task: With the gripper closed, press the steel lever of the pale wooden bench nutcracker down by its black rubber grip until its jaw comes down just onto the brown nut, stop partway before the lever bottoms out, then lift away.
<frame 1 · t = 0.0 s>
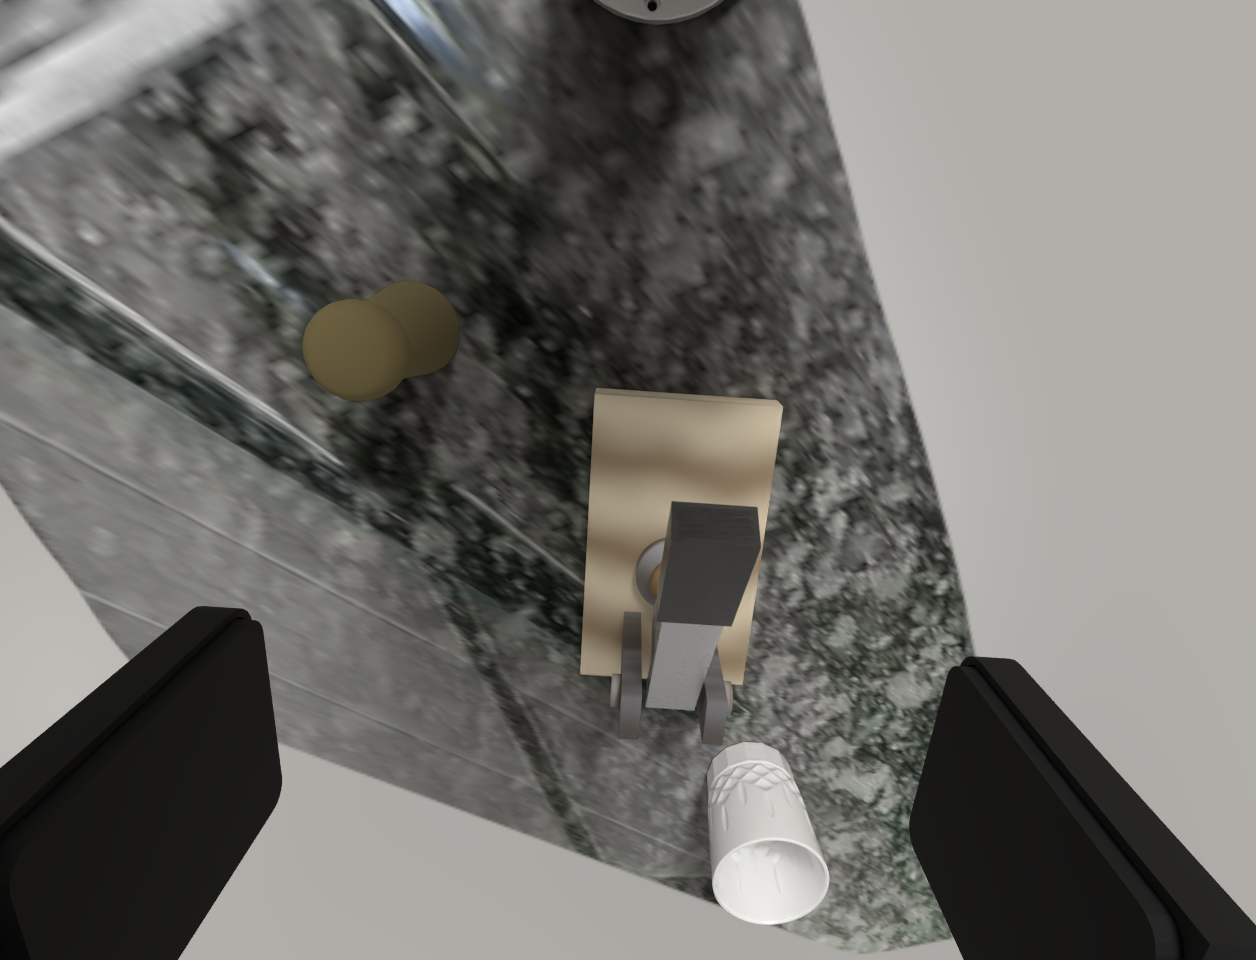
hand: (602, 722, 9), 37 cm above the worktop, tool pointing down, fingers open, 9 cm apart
lever: (687, 611, 36), point 13 cm above the worktop, hinge at 32.0°
nutcracker base: (672, 538, 49), on the worktop
cork: (414, 328, 44), on the worktop
white cup: (747, 772, 56), on the worktop
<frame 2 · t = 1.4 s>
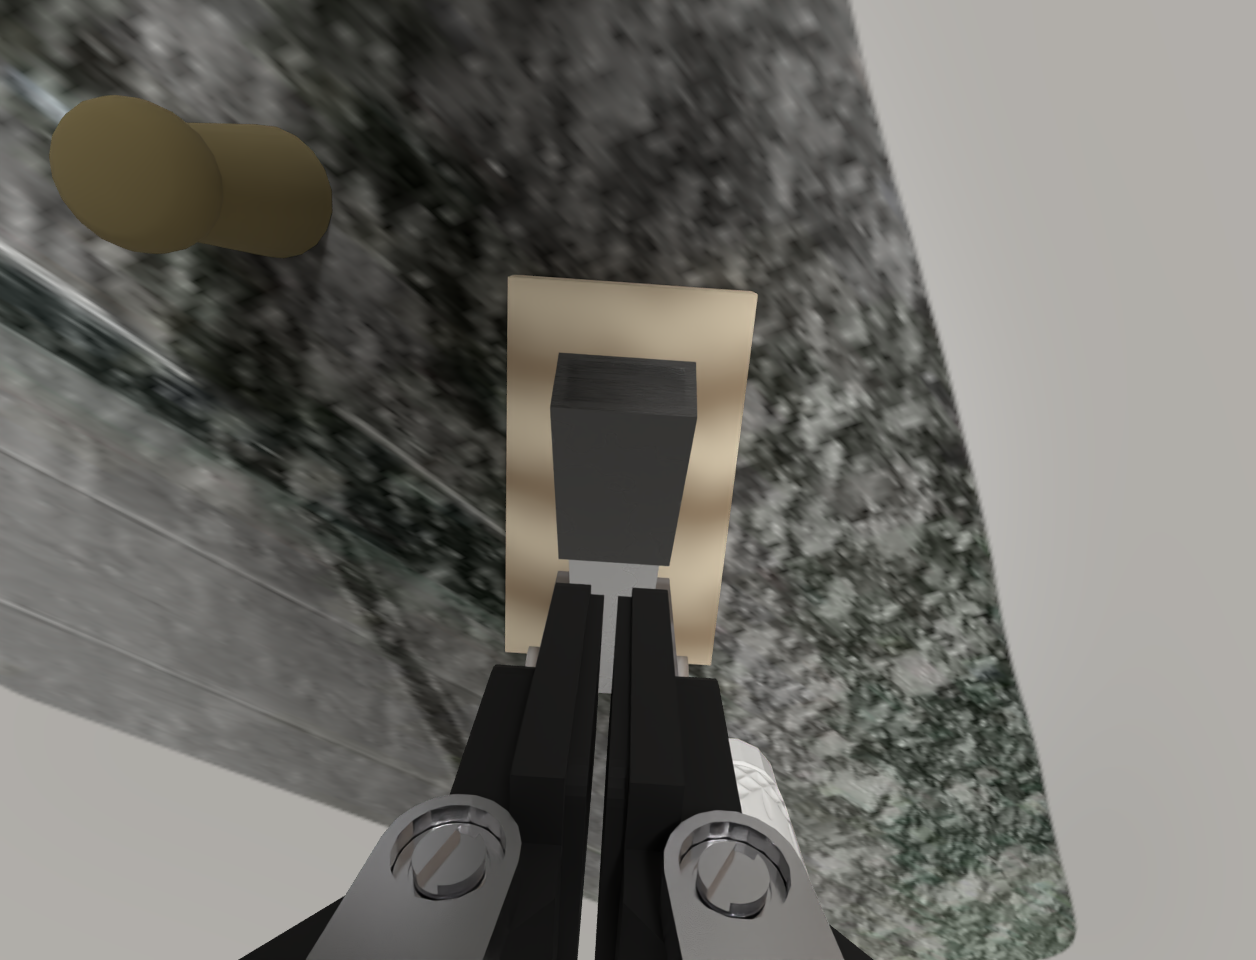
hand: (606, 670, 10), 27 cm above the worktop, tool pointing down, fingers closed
lever: (614, 551, 25), point 13 cm above the worktop, hinge at 32.0°
nutcracker base: (620, 477, 38), on the worktop
cork: (272, 193, 33), on the worktop
white cup: (720, 774, 45), on the worktop
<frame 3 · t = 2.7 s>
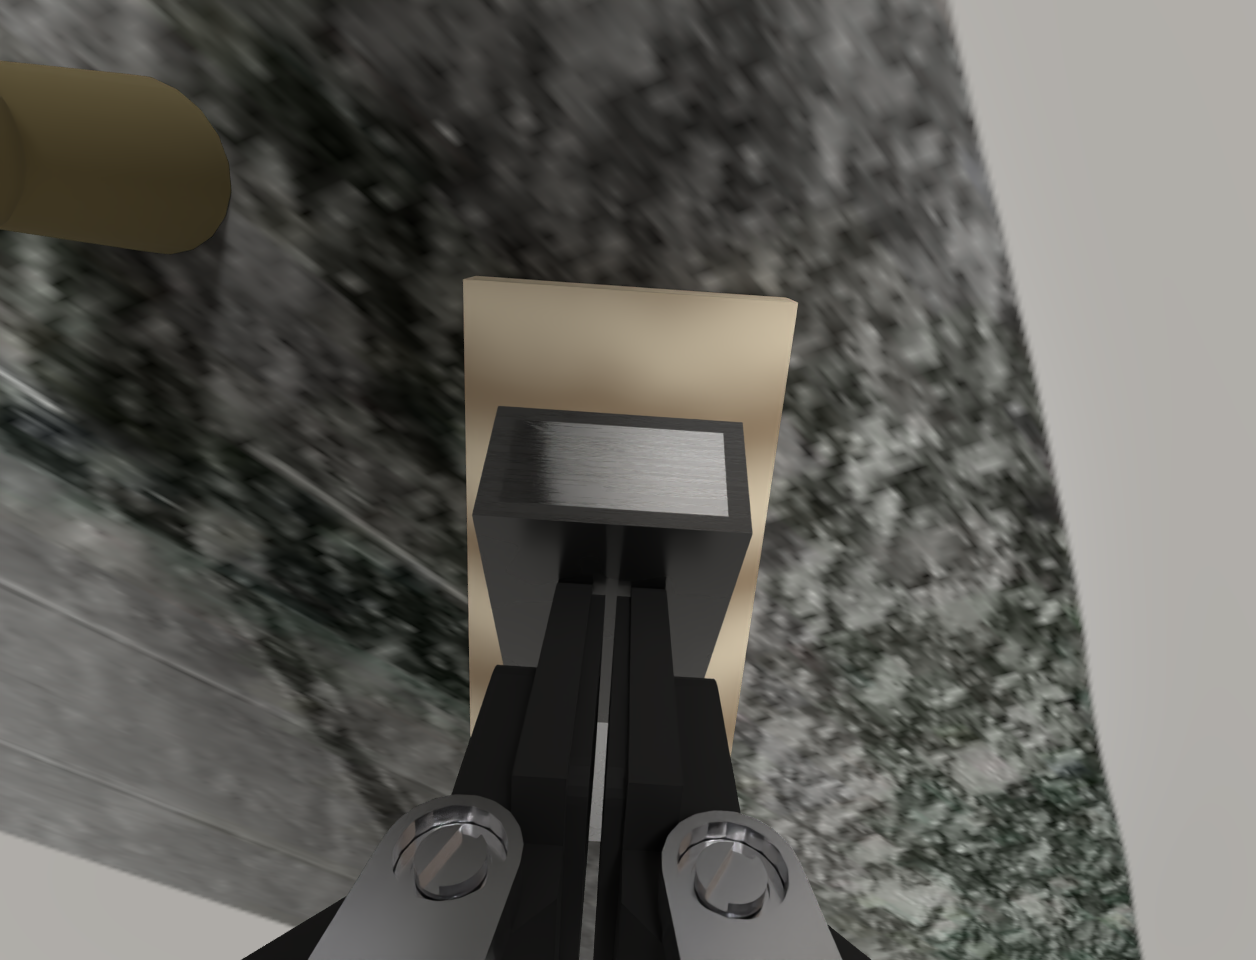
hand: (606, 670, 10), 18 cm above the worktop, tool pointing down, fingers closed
lever: (604, 679, 17), point 13 cm above the worktop, hinge at 30.1°, touching gripper
nutcracker base: (615, 534, 30), on the worktop
cork: (151, 168, 25), on the worktop
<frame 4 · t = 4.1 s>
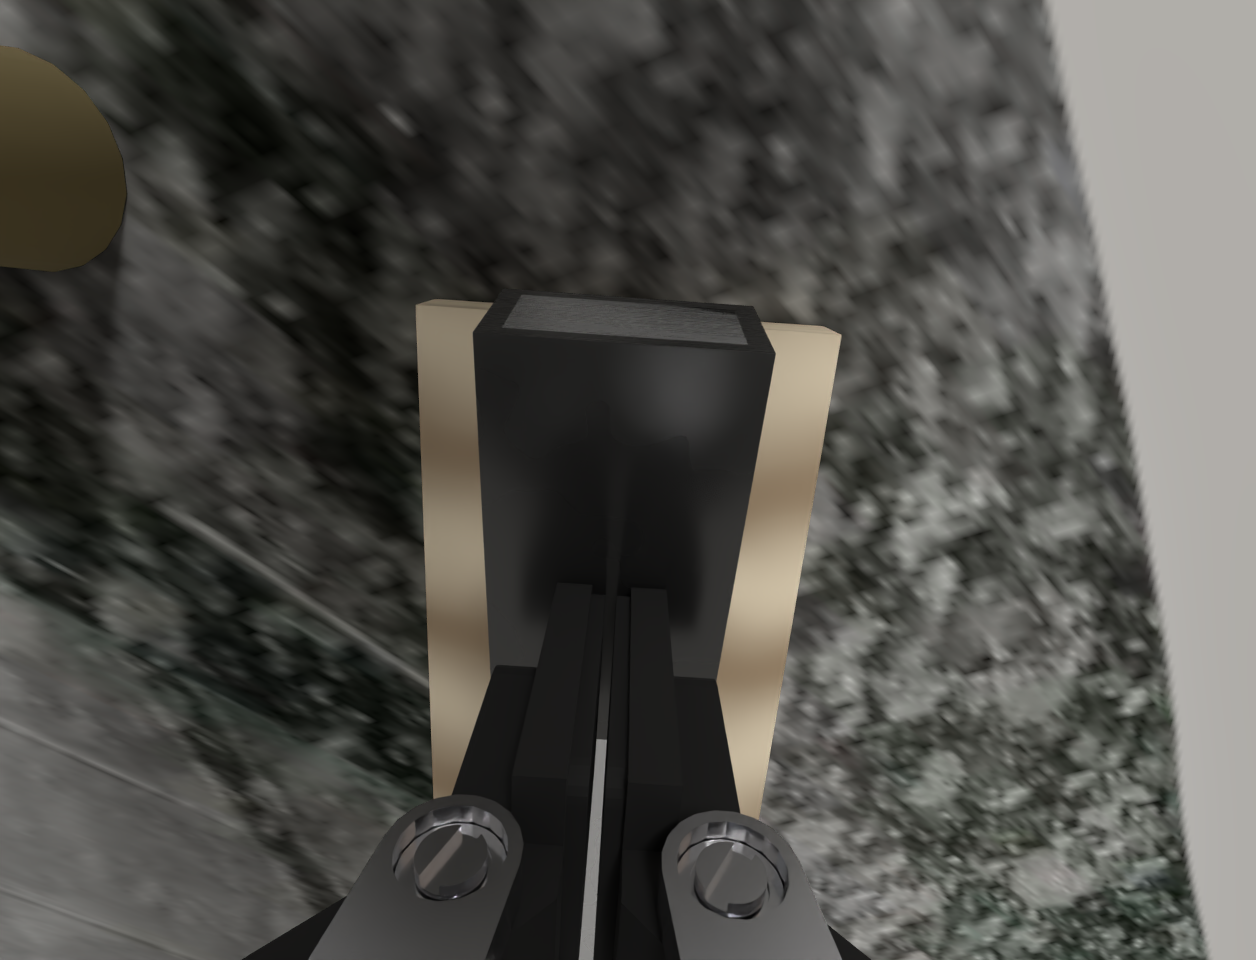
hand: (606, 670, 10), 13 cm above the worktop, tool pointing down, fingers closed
lever: (599, 739, 15), point 10 cm above the worktop, hinge at 10.6°, touching gripper
nutcracker base: (610, 610, 25), on the worktop
cork: (26, 164, 20), on the worktop
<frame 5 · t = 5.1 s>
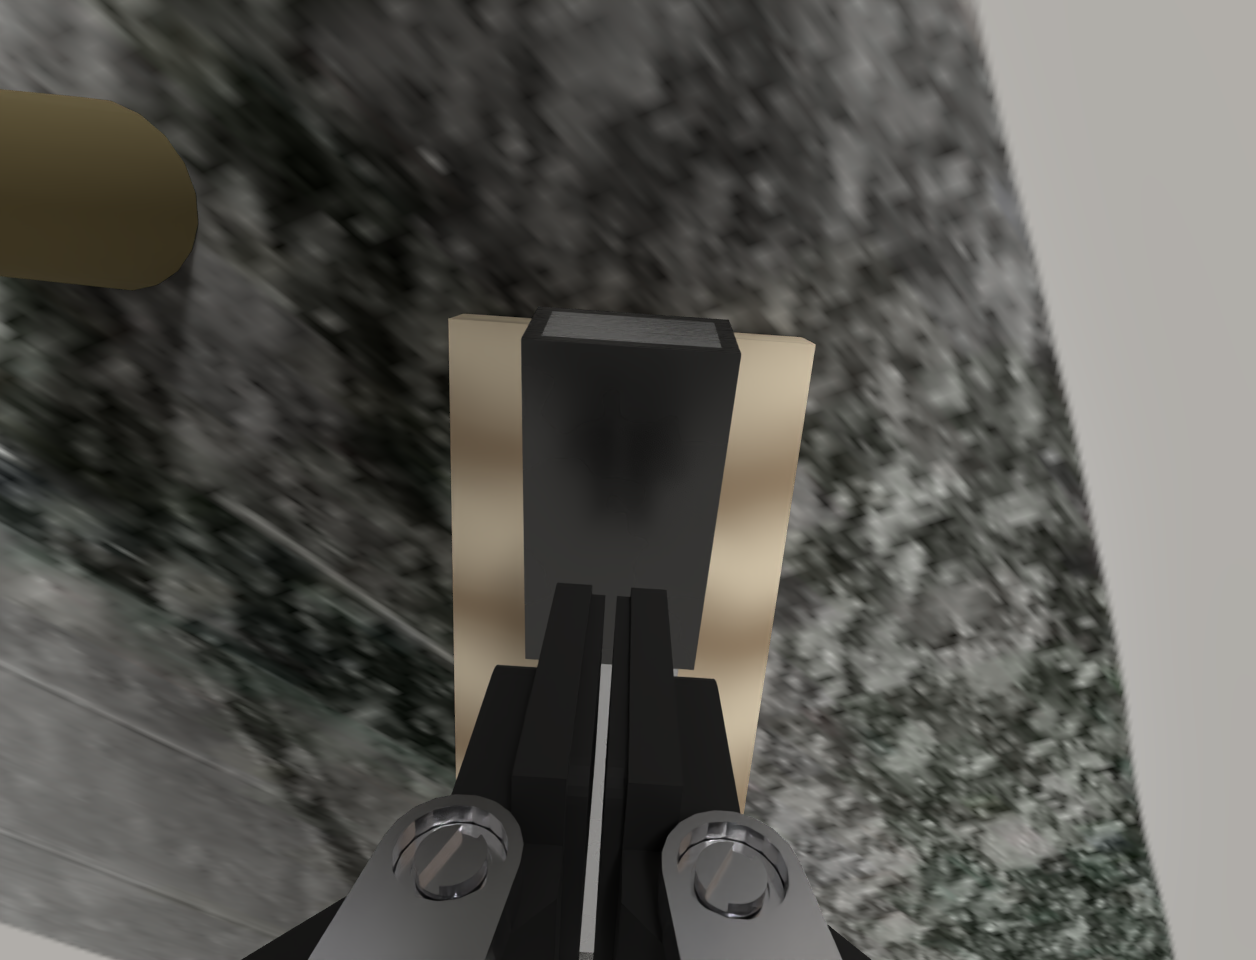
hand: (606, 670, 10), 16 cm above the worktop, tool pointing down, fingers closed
lever: (608, 680, 17), point 10 cm above the worktop, hinge at 10.5°
nutcracker base: (614, 590, 27), on the worktop
cork: (112, 198, 23), on the worktop
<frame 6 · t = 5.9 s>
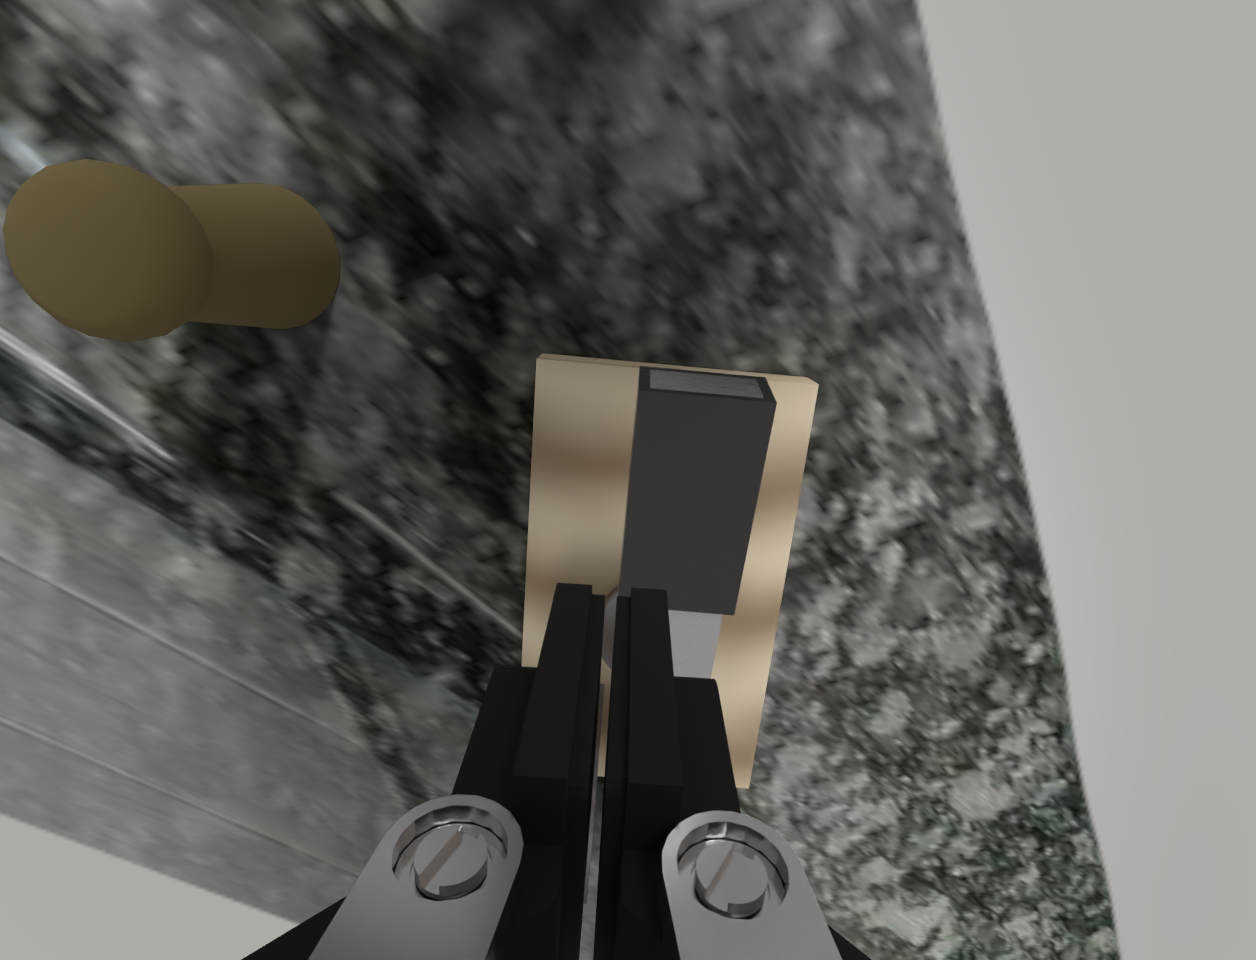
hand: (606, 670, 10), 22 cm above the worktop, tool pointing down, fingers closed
lever: (665, 630, 24), point 10 cm above the worktop, hinge at 10.5°
nutcracker base: (652, 576, 34), on the worktop
cork: (272, 258, 30), on the worktop
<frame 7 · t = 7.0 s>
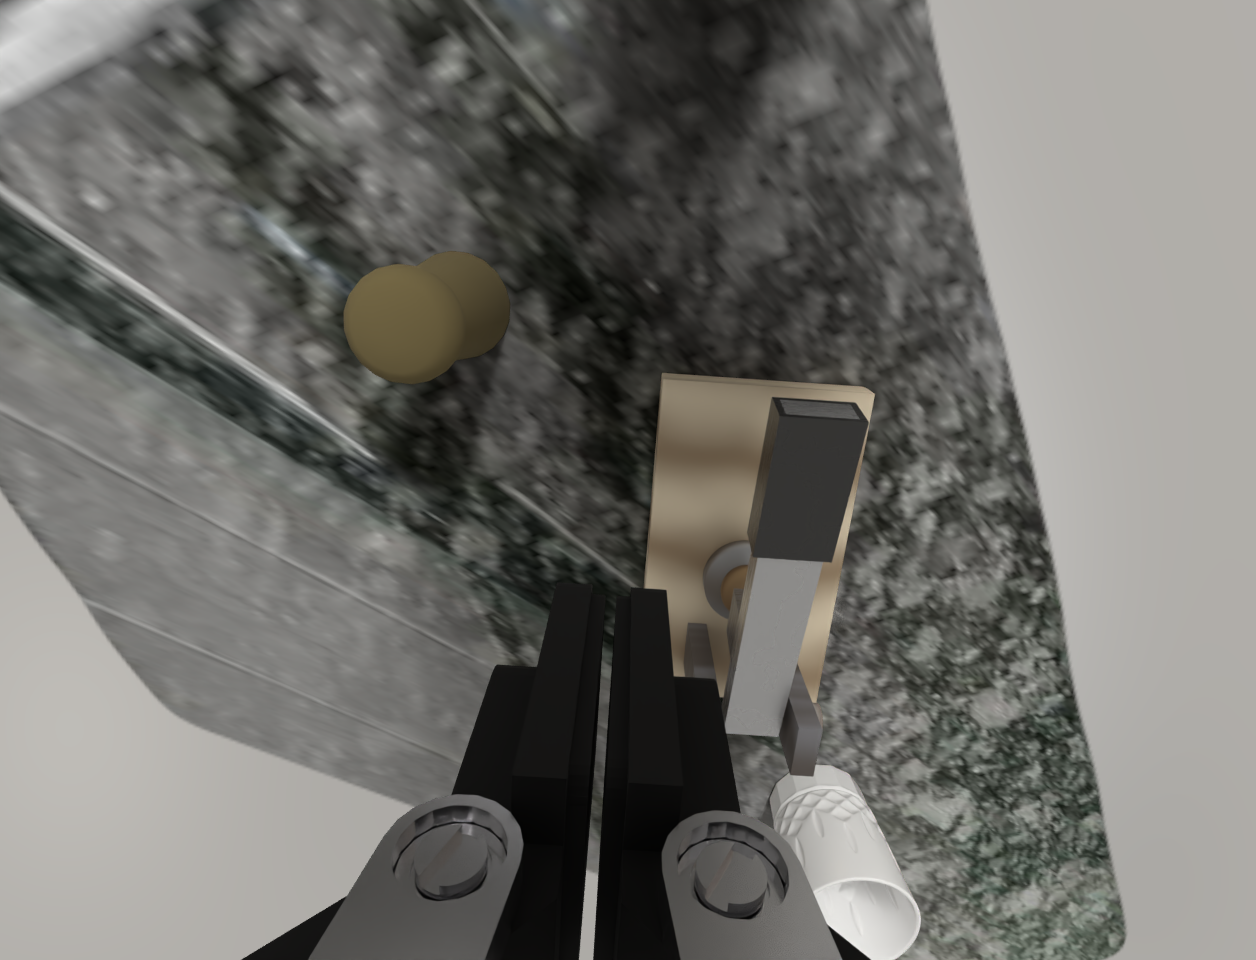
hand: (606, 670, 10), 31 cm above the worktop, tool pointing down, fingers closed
lever: (775, 576, 34), point 10 cm above the worktop, hinge at 10.5°
nutcracker base: (741, 541, 44), on the worktop
cork: (458, 306, 39), on the worktop
white cup: (813, 796, 51), on the worktop
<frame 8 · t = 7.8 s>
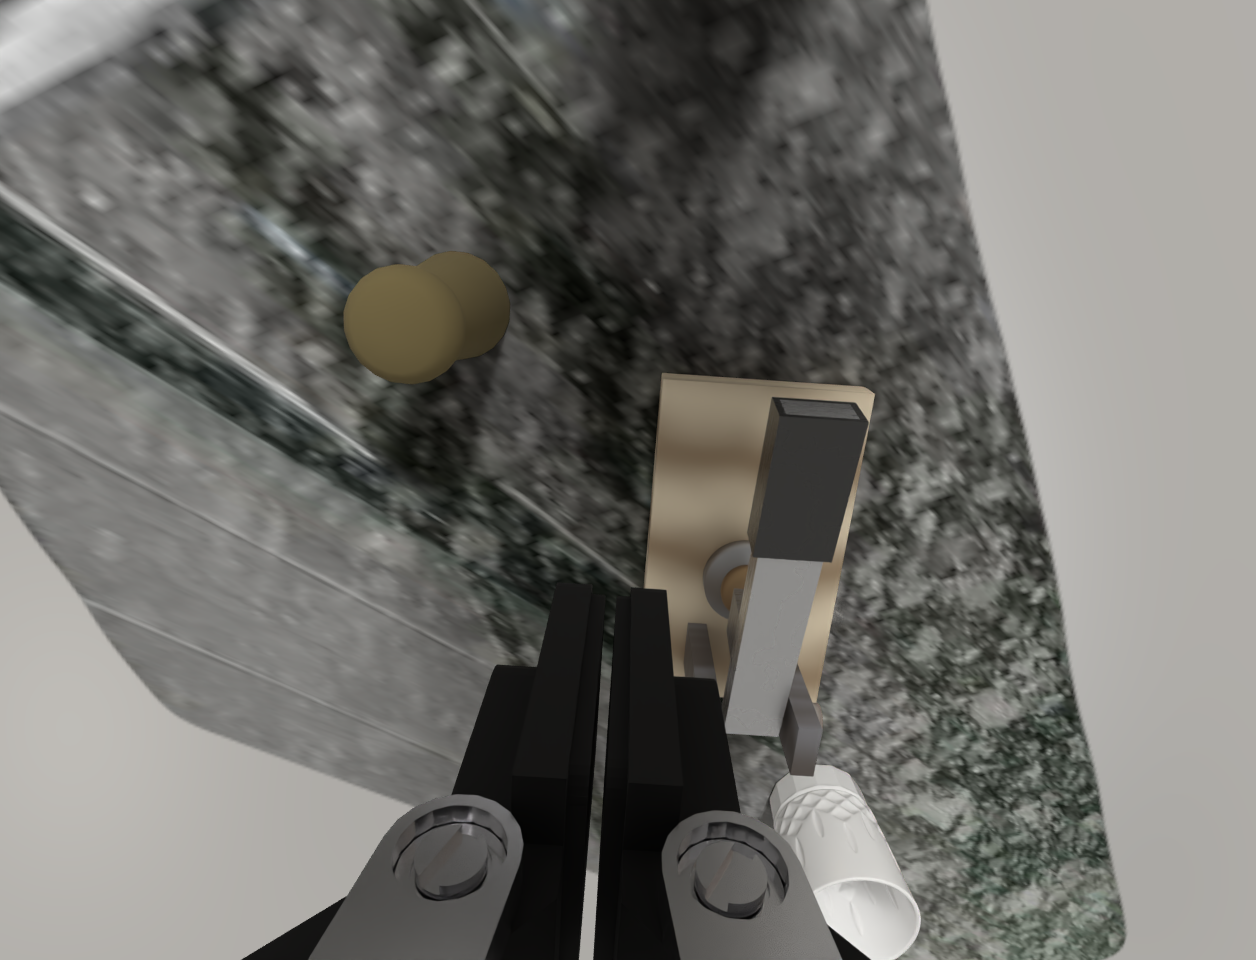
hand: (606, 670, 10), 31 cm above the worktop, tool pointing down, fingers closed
lever: (775, 576, 34), point 10 cm above the worktop, hinge at 10.5°
nutcracker base: (741, 541, 44), on the worktop
cork: (458, 306, 39), on the worktop
white cup: (813, 796, 51), on the worktop
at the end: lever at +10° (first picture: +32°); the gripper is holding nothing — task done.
